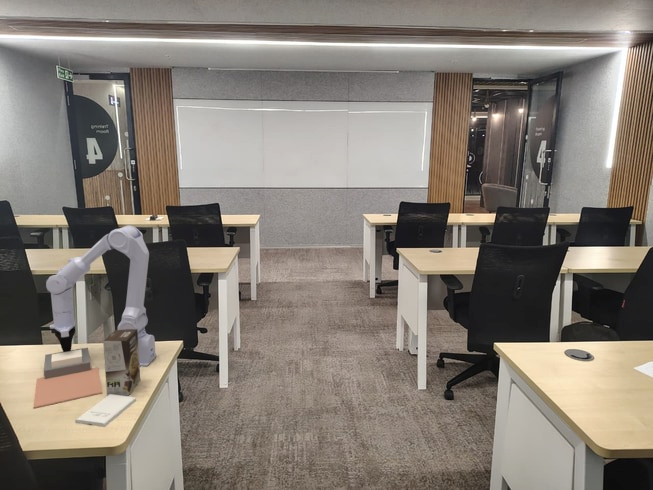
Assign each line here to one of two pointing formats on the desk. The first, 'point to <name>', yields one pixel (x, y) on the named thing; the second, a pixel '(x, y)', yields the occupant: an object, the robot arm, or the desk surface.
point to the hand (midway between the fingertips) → (67, 350)
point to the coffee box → (121, 362)
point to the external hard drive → (106, 410)
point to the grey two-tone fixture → (67, 369)
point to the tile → (66, 358)
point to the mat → (67, 388)
